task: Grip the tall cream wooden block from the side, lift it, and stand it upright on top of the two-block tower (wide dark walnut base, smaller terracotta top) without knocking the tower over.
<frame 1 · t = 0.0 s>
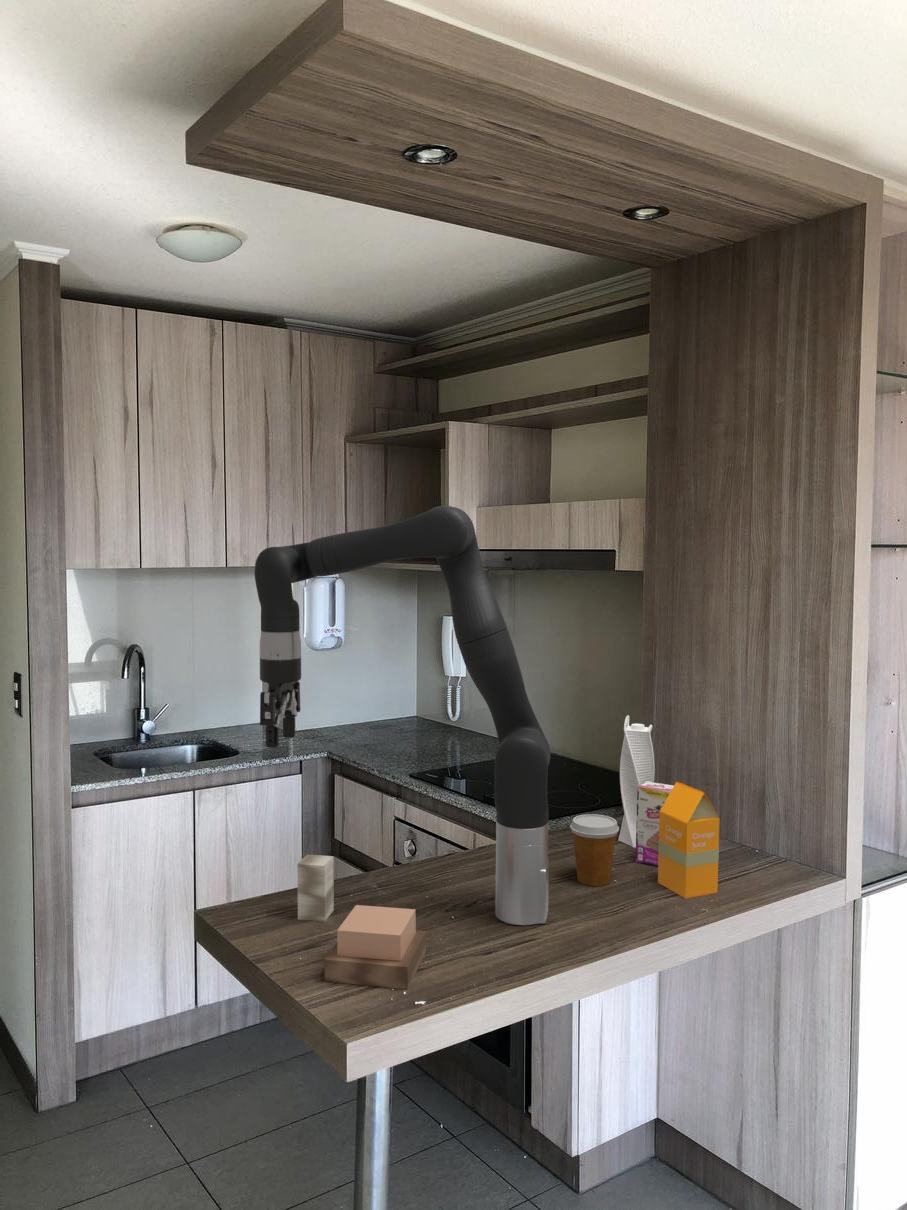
hand: (281, 742, 175), 29 cm above the worktop, tool pointing down, fingers open, 8 cm apart
tower top block: (377, 944, 150), point 3 cm above the worktop, touching tower base block
disposable coffee cup: (593, 881, 187), on the worktop
cream block: (315, 914, 169), on the worktop
skyscraper: (634, 843, 210), on the worktop
tower base block: (377, 969, 150), on the worktop, touching tower top block
orange juice: (687, 888, 184), on the worktop
candy bar box: (664, 865, 196), on the worktop
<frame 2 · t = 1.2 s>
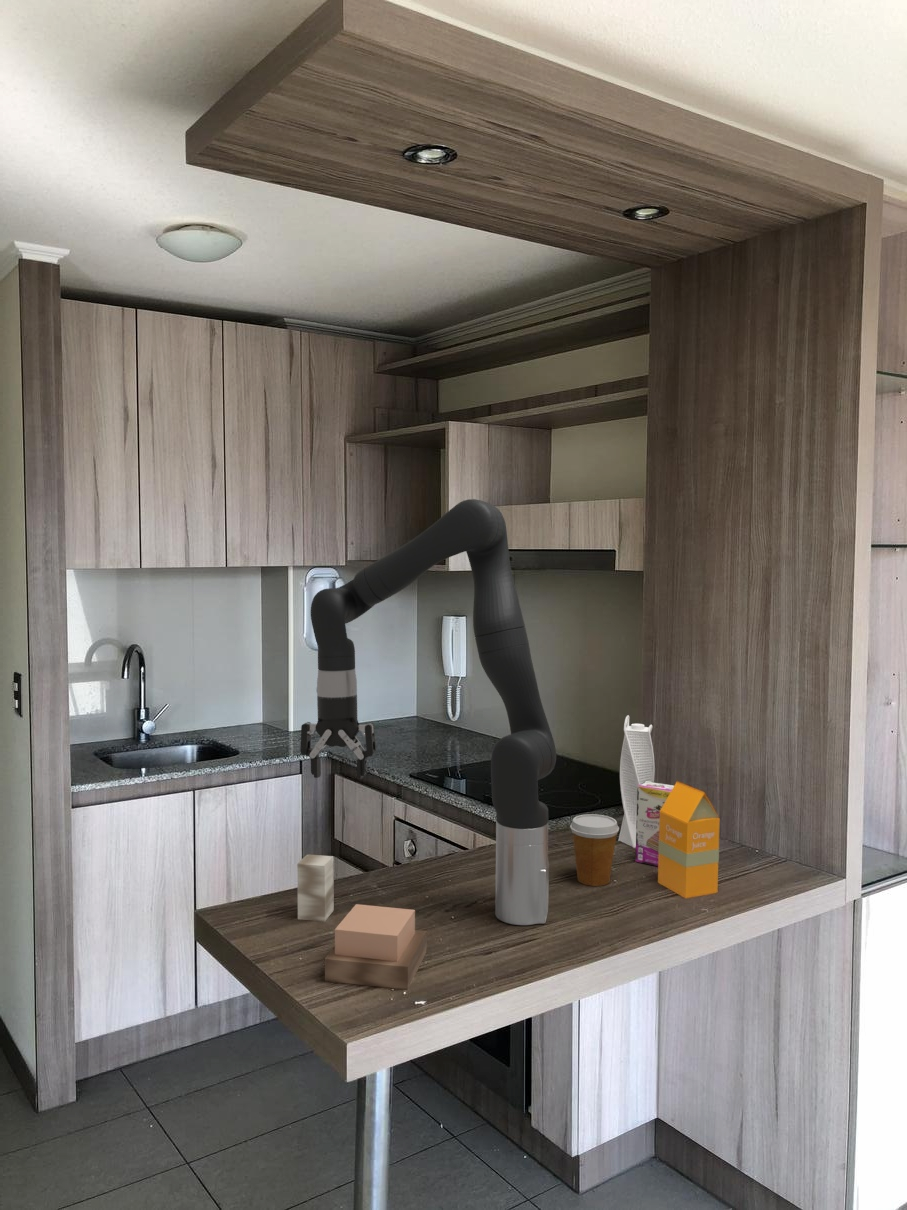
hand: (338, 777, 181), 21 cm above the worktop, tool pointing down, fingers open, 8 cm apart
nothing on the worktop moved.
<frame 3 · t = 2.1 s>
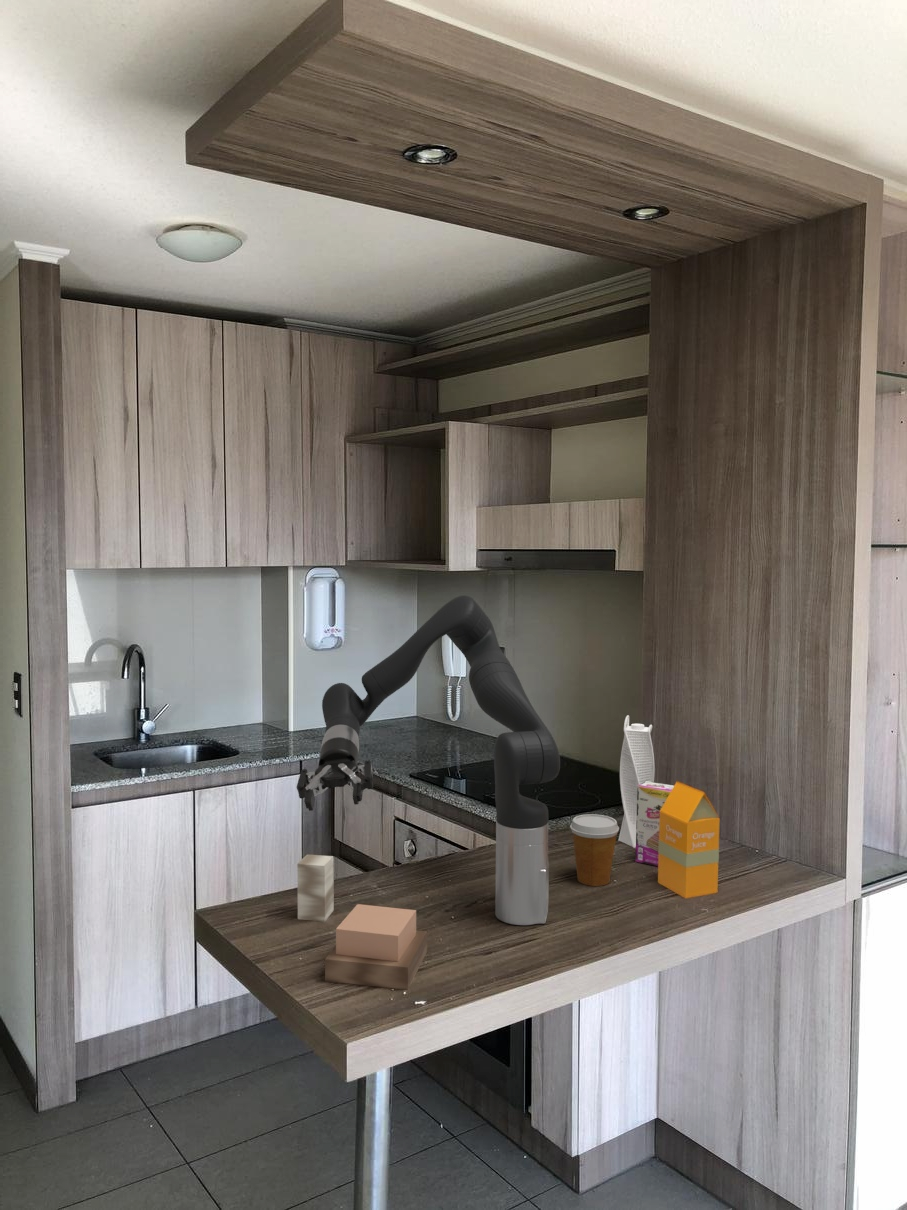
hand: (332, 804, 175), 18 cm above the worktop, tool tilted 65°, fingers open, 8 cm apart
nothing on the worktop moved.
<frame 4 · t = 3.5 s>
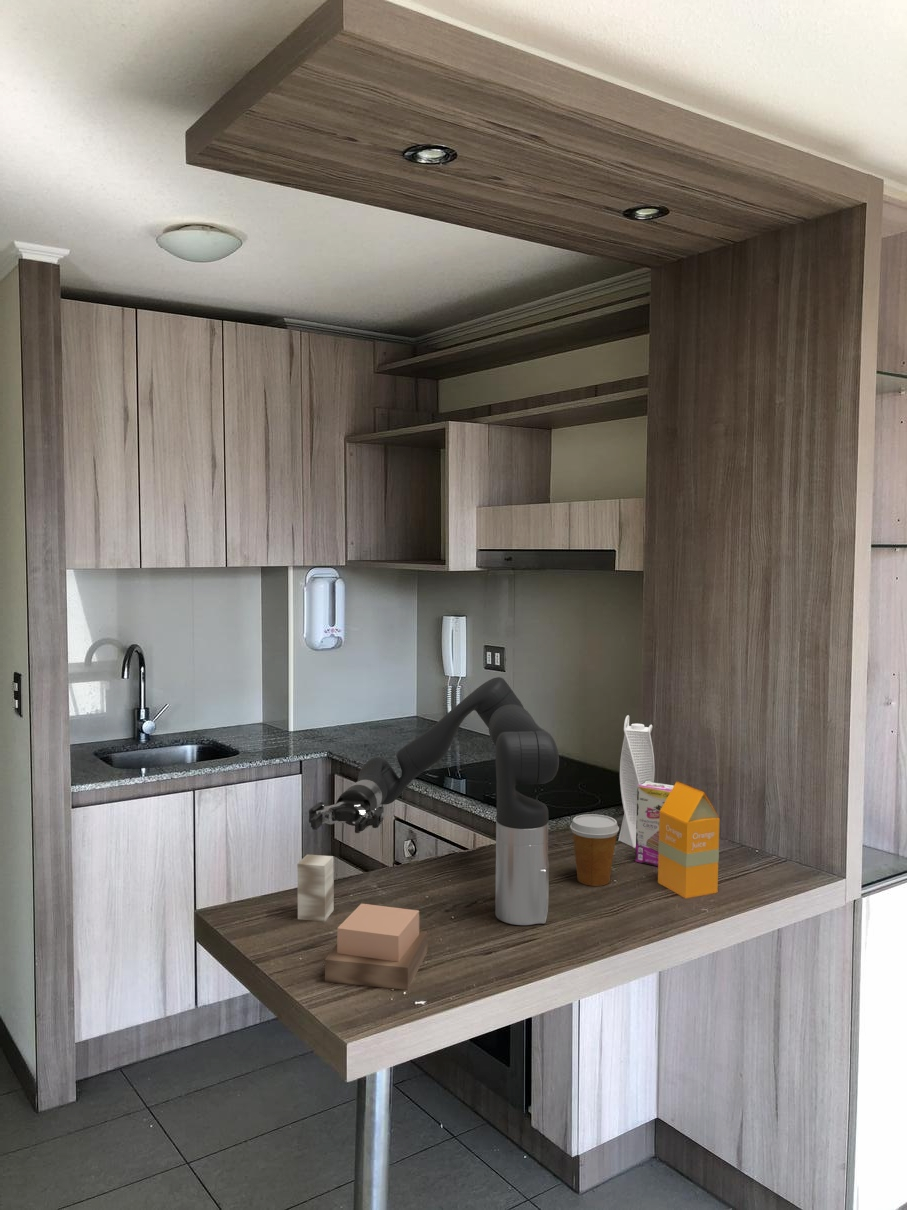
hand: (335, 826, 181), 12 cm above the worktop, tool horizontal, fingers open, 8 cm apart
nothing on the worktop moved.
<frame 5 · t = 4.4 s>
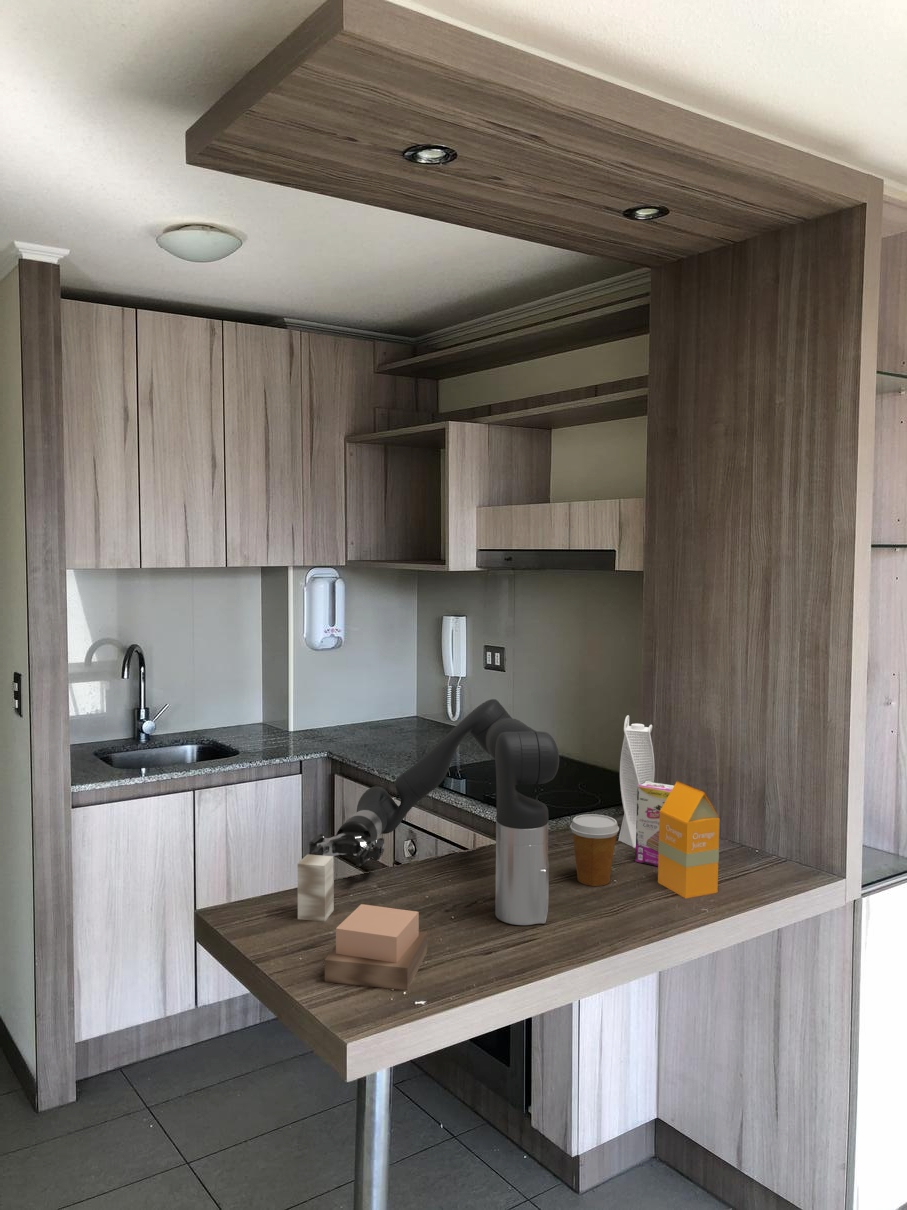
hand: (336, 859, 180), 6 cm above the worktop, tool horizontal, fingers open, 8 cm apart
nothing on the worktop moved.
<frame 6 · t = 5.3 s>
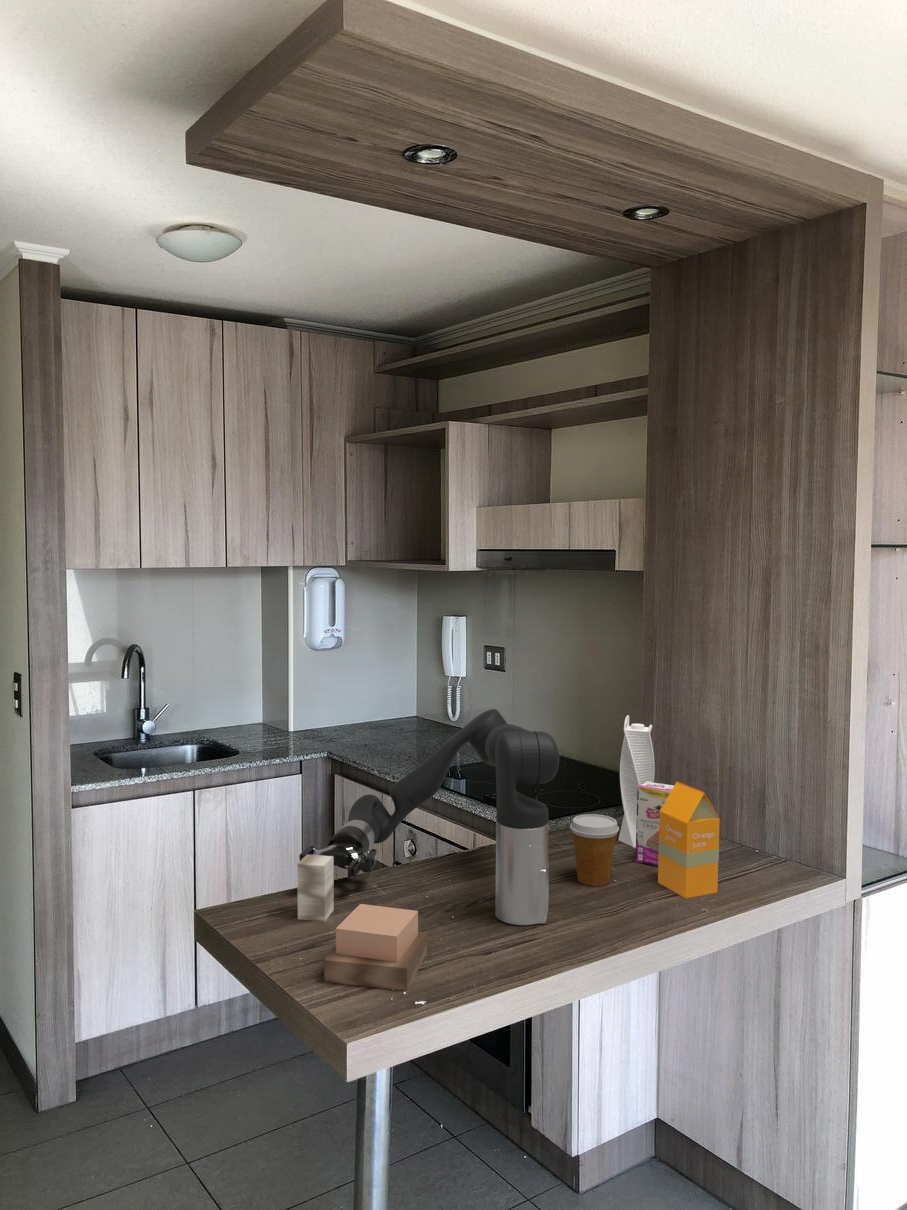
hand: (327, 872, 175), 5 cm above the worktop, tool horizontal, fingers open, 8 cm apart
nothing on the worktop moved.
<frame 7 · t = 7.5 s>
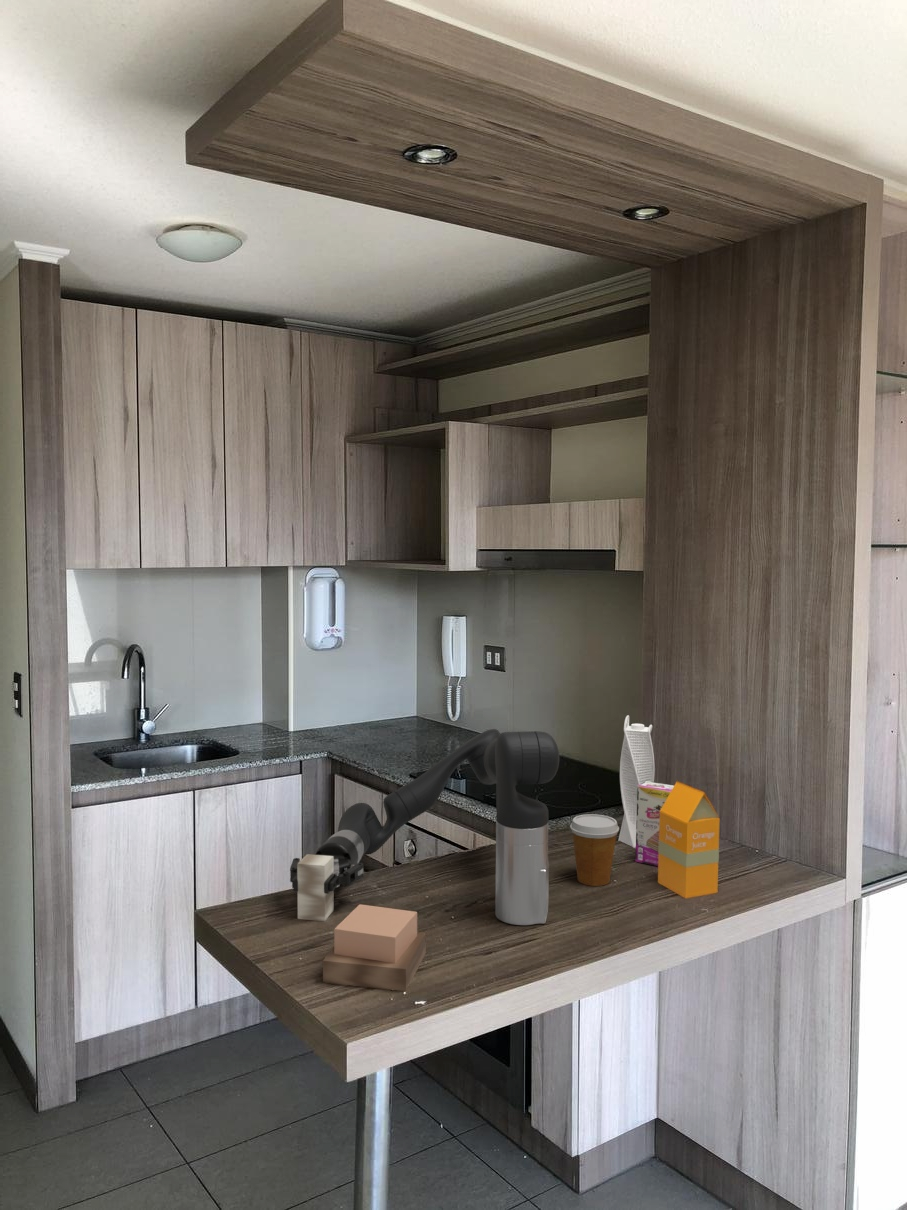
hand: (310, 886, 166), 6 cm above the worktop, tool horizontal, fingers closed on cream block, 5 cm apart
cream block: (315, 914, 169), on the worktop, touching gripper
everything else where it was.
when the fingers open (15 cm above the worktop, at t = 13.5 s): cream block drops 2 cm, point 7 cm above the worktop.
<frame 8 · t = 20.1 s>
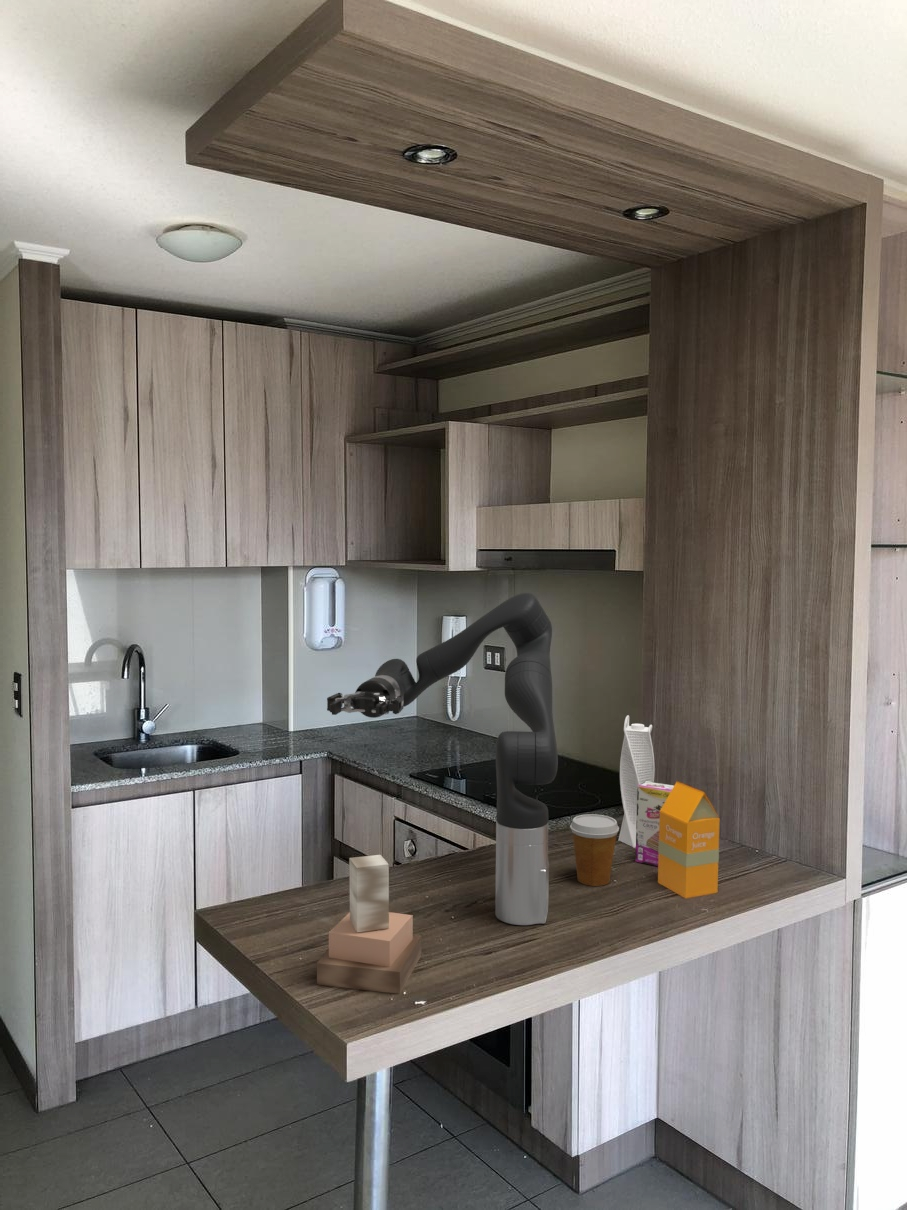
hand: (355, 710, 177), 35 cm above the worktop, tool horizontal, fingers open, 8 cm apart
tower top block: (371, 948, 148), point 3 cm above the worktop, touching tower base block
cream block: (369, 924, 148), point 7 cm above the worktop
tower base block: (370, 973, 148), on the worktop, touching tower top block
everything else where it was.
at the end: cream block inside the target area on the tower top block (0.7 cm from its centre), point 4.0 cm above the tower top block's base; cream block tilted 0°; tower top block 0.1 cm off-centre on the tower base block, point 4.0 cm above the tower base block's base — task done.
